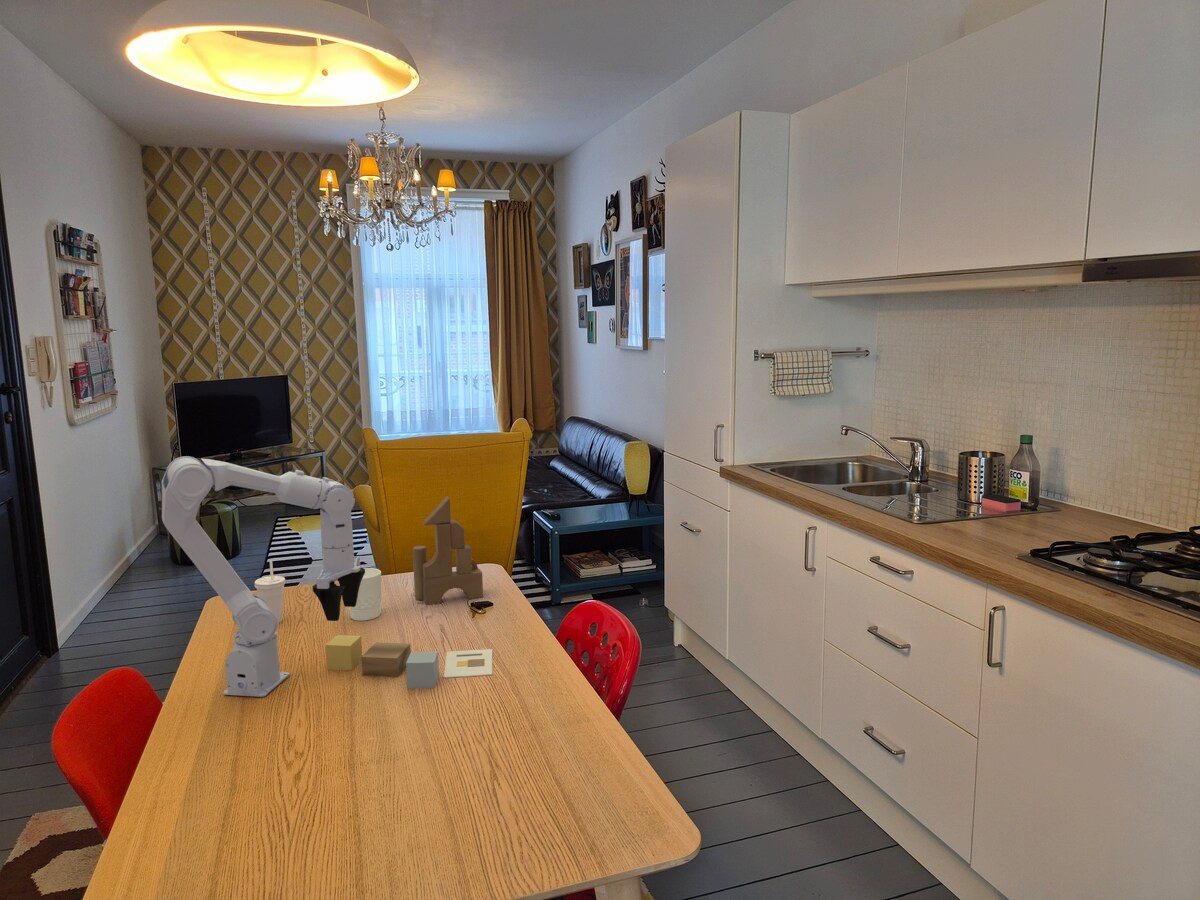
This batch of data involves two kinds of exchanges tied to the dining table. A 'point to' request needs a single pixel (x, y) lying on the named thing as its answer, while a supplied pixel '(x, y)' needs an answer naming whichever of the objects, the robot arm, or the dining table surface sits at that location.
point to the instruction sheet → (468, 663)
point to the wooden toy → (445, 561)
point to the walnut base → (385, 659)
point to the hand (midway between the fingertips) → (341, 613)
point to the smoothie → (272, 592)
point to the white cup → (368, 596)
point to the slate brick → (422, 670)
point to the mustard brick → (343, 652)
